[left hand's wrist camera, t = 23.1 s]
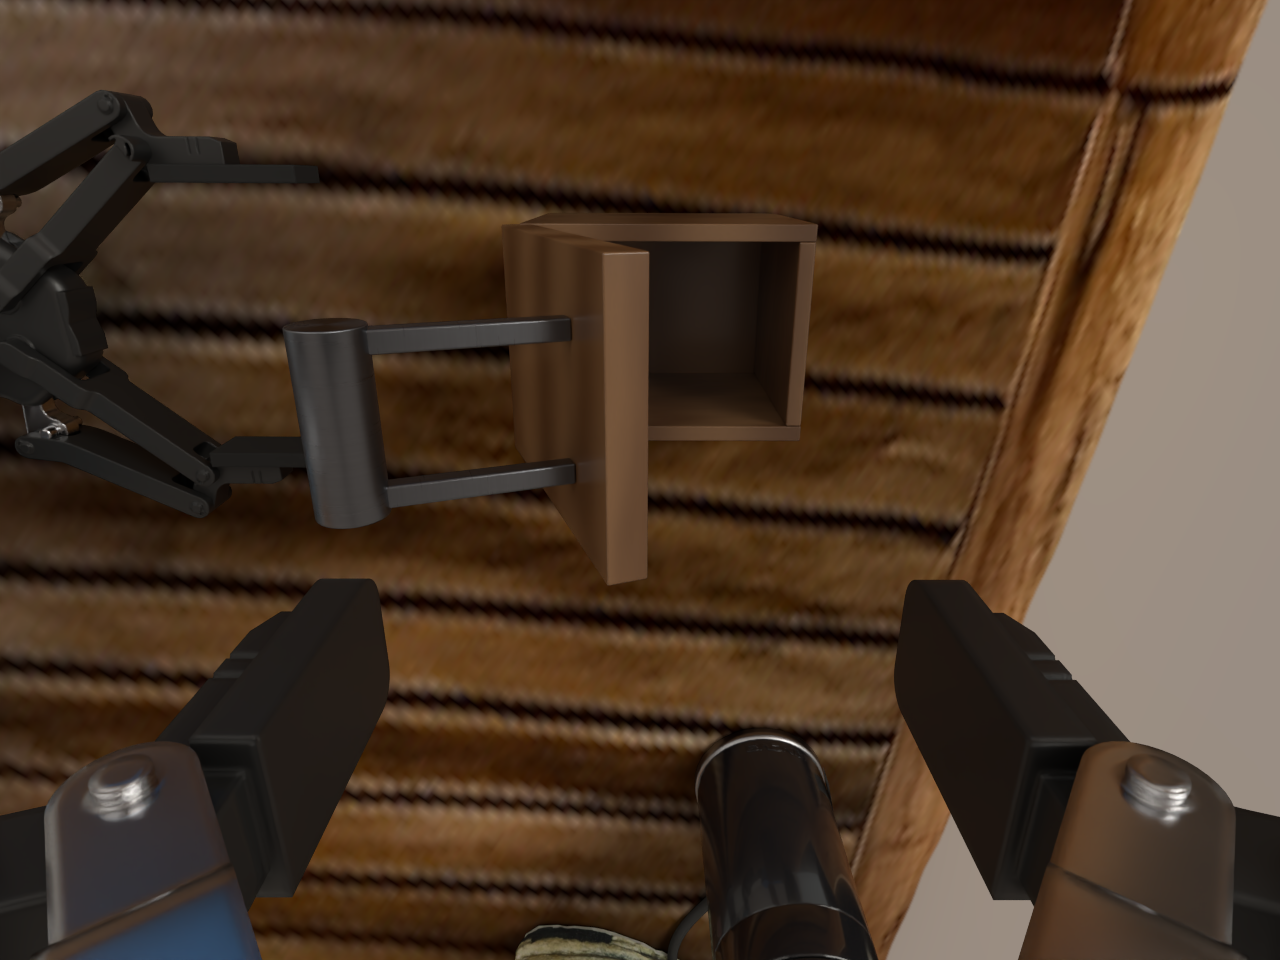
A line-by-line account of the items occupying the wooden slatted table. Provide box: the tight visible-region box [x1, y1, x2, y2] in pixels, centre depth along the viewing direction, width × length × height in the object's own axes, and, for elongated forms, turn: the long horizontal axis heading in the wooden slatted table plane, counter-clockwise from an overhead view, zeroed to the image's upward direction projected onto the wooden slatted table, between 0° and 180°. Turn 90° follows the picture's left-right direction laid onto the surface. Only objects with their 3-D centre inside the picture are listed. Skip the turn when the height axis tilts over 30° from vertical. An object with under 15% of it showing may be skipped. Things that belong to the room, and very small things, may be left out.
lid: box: [283, 224, 649, 585], centre depth 25 cm, size 13×10×9 cm
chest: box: [521, 213, 818, 441], centre depth 38 cm, size 12×10×11 cm
